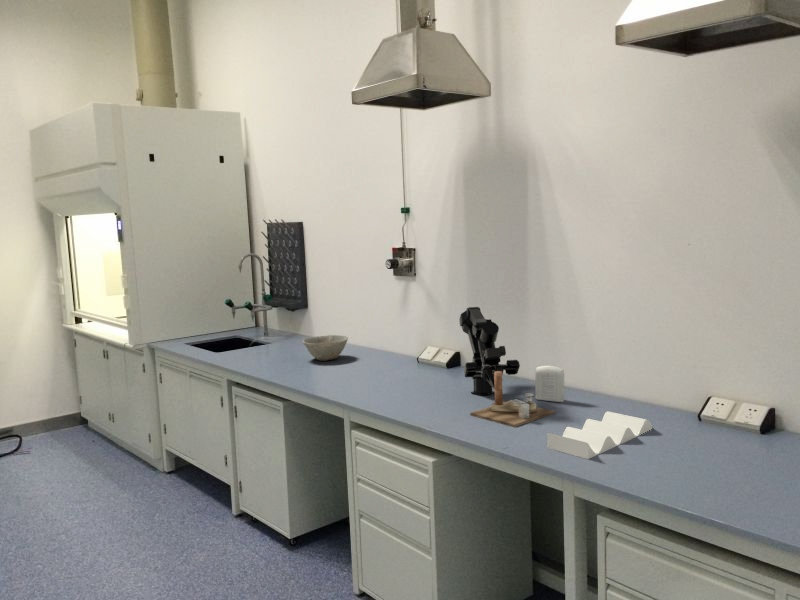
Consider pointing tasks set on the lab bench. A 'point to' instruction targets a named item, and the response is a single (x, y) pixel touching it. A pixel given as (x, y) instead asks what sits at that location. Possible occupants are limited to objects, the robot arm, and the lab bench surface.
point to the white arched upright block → (549, 383)
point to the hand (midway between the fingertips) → (495, 389)
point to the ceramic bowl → (325, 346)
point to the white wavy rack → (598, 435)
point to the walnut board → (510, 416)
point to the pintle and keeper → (523, 405)
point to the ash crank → (499, 397)
